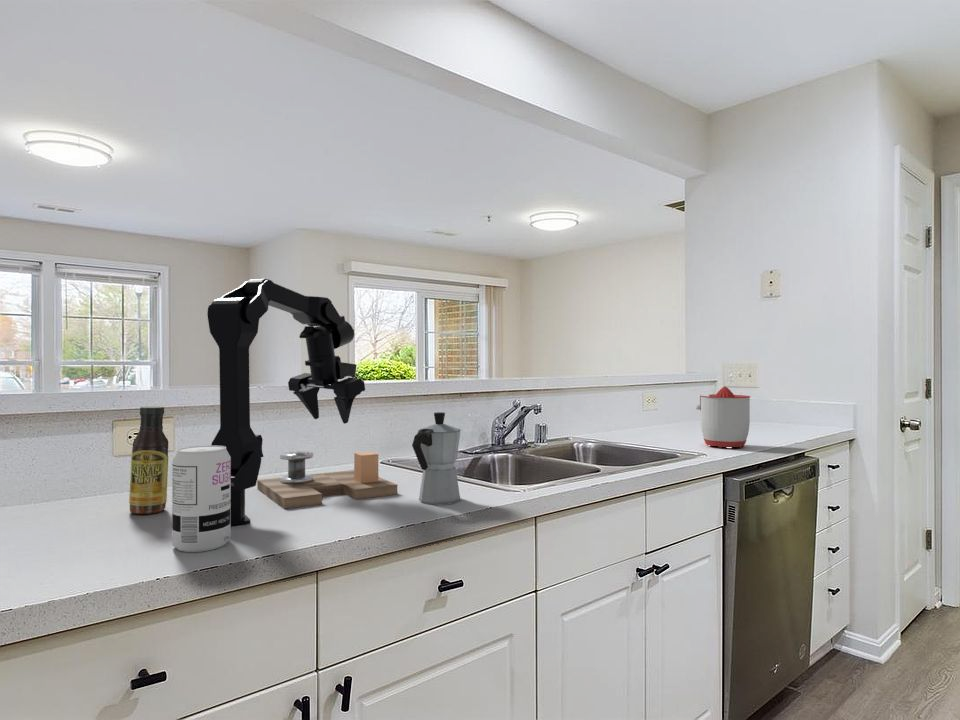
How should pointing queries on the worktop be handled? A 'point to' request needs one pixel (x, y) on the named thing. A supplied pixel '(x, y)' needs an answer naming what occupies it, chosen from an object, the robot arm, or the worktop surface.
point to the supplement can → (201, 498)
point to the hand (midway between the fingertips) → (331, 420)
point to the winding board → (323, 489)
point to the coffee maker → (438, 461)
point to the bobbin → (296, 467)
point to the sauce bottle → (149, 464)
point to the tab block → (366, 467)
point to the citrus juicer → (725, 418)
